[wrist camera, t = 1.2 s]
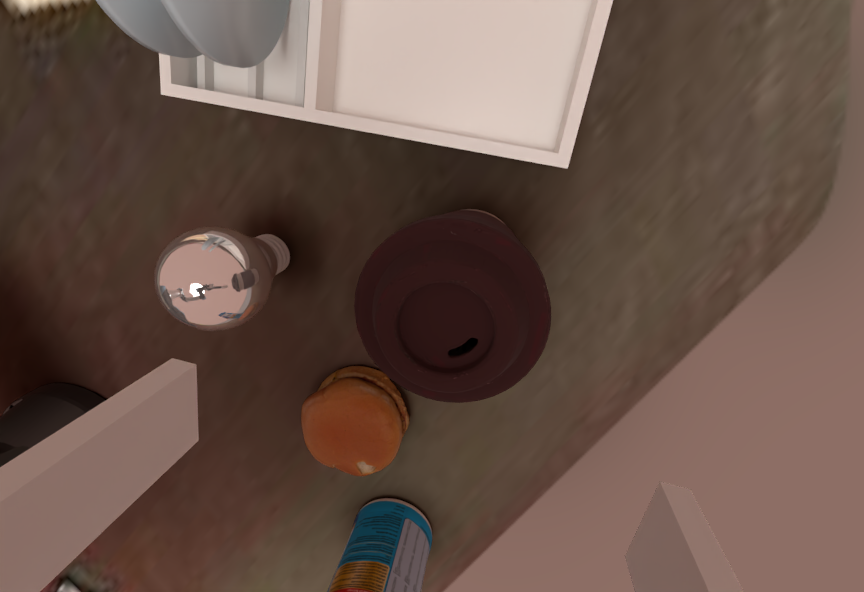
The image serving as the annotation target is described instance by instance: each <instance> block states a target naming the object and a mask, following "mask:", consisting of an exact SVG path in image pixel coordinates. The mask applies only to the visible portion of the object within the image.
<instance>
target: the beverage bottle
mask: <svg viewBox="0 0 864 592" xmlns="http://www.w3.org/2000/svg"><path fill="white" fill-rule="evenodd" d="M431 544H432V530H431V526H430V524H429V522H428V520H427V519H426V517H425V516H424V515H423V513H422V512H421V511H419V510H418V509H417V508H416V507H414V506H413V505H411V504H409V503H407V502H404V501H402V500H398V499H392V498H382V499H377V500H374V501H371V502H369V503H367V504H366V505H365V506H364V507H362V509H361V510H360V511H359V513H358V514H357V516H356V519H355V521H354V524H353V528H352V531H351V534H350V537H349V539H348V542H347V544H346V547H345V549H344V552H343V554H342V557H341V559H340V562H339V564H338V566H337V569H336V571H335V574H334V576H333V579H332V581H331V583H330V586H329V588H328V591H327V592H421V589H422V584H423V578H424V573H425V568H426V563H427V559H428V555H429V552H430V549H431Z"/></svg>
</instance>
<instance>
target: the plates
mask: <svg viewBox="0 0 864 592" xmlns="http://www.w3.org/2000/svg"><path fill="white" fill-rule="evenodd" d="M96 1H97V3H98V4H99V5H100V7H101V8H102V9H103V10H104V11H105V13H106V14H107V15H108V16H109V17H110V18H111V19H112V20H113V22H114V23H115V24H116V25H117V26H119V27H120V28H121V29H122V30H123V31H124V32H125V33H126V34H127V35H128V36H130V37H131V38H133V39H134V40H135V41H137V42H138V43H139V44H141V45H143V46H145V47H146V48H148V49H150V50H152V51H155V52H158V53H160V54H163V55H169V56H175V57H181V58H194V57H197V56H201V55H205V56H206V57H208V58H209V59H211V60H213V61H215V62H217V63H220V64H222V65H227V66H233V67H239V68H249V67H253V66H255V65H258V64H259V63H261V62H262V61H264V60H265V59H266V58H267V57H268V56H269V55H270V53H271V52H272V50H273V49H274V48H275V46H276V44H277V42H278V40H279V38H280V36H281V33H282V30H283V28H284V24H285V21H286V17H287V12H288V7H289V2H290V0H96Z"/></svg>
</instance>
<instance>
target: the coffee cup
mask: <svg viewBox="0 0 864 592" xmlns="http://www.w3.org/2000/svg"><path fill="white" fill-rule="evenodd" d="M355 316H356V323H357V328H358V331H359V334H360V337H361V339H362V342H363V344H364V346H365V348H366V350H367V352H368V354H369V355H370V357H371V358H372V360H373V361H374V362H375V364H376V365H377V366H378V367H379V368H380V369H381V371H382V372H384V373H385V374H386V375H387V376H388V377H389V378H390V379H392V380H393V381H394V382H395V383H397V384H399V385H400V386H402V387H403V388H405V389H406V390H408V391H411V392H413V393H415V394H418V395H420V396H423V397H425V398H428V399H432V400H437V401H443V402H457V403H460V402H472V401H478V400H482V399H486V398H489V397H492V396H495V395H497V394H499V393H501V392H503V391H506V390H507V389H509V388H511V387H512V386H514V385H515V384H516V383H517V382H519V381H520V380H521V379H522V378H523V377H524V376H526V375H527V373H528V372H529V371H530V370H531V369H532V368H533V366H534V365H535V364H536V362H537V361H538V359H539V357H540V356H541V354H542V352H543V350H544V348H545V345H546V342H547V339H548V335H549V330H550V324H551V306H550V298H549V294H548V290H547V287H546V283H545V280H544V277H543V274H542V272H541V270H540V268H539V266H538V264H537V262H536V261H535V259H534V258H533V256H532V255H531V253H530V252H529V251H528V250H527V249H526V247H525V246H524V245H523V244H522V243H521V242H520V241H519V240H518V239H517V237H516V236H515V235H514V233H513V232H512V231H511V230H510V229H509V228H508V227H507V226H506V225H505V223H503V222H502V221H501V220H500V219H499V218H497V217H496V216H494V215H492V214H490V213H488V212H485V211H481V210H477V209H464V210H459V211H452V212H449V213H446V214H443V215H436V216H431V217H427V218H423V219H420V220H417V221H415V222H412V223H410V224H408V225H406V226H404V227H403V228H401V229H400V230H398V231H397V232H395V233H394V234H392V235H391V236H390V237H389V238H387V239H386V240H385V241H384V242H383V243H382V244H381V245H380V246H379V247H378V248H377V249H376V250H375V251H374V252H373V254H372V255H371V256H370V258H369V259H368V261H367V262H366V264H365V266H364V268H363V270H362V272H361V274H360V277H359V281H358V284H357V288H356V293H355Z"/></svg>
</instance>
